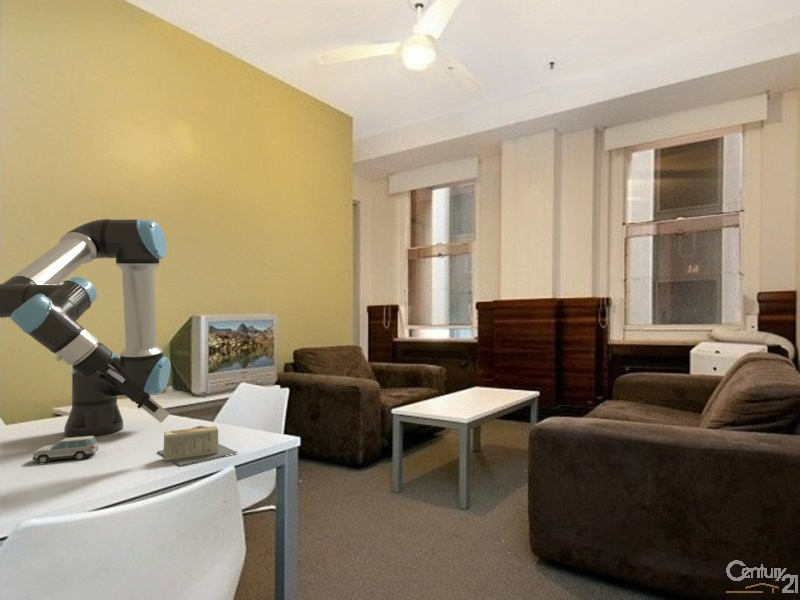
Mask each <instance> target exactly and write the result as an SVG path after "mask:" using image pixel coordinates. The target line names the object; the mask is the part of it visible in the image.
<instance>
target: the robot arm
mask: <svg viewBox="0 0 800 600" xmlns="http://www.w3.org/2000/svg"><path fill="white" fill-rule="evenodd" d="M166 255H167V241H166V238H165V234H164V231H163V229H162V227H161V225H159V224H158V223H157V222H156V221H154V220H151V219H150V220H149V219H110V218H109V219H107V218H106V219H105V218H104V219H96V220H93V221H92V220H91V221H89V222H86V223H83V224H81V225H79V226H76V227H75V228H73V229H72V230H71V229H70V231H68V232H66V233H65V234H64V235H62V236H61V237H60V239H59V243H58V244H56V245H55V246H54V247H52V248H51V249H49V250H48V251H46V252H45V253H44V254H42V255H40V256H39V257H38V258H37V259H35V260H34V261H32V262H31V263H30V264H28V265H27V266H25V267H24V268H23V269H21V270H20V271H19V272H17V273H15V274H14V275H13V276H11V277H10V278H8V279H7V280H6V281H4V282H3V283H0V319H4V318H10V320H11V321H12V322H13V323H14V324H16V326H18V328H20V329H21V330H22V331H23V333H25V334H27V335H29V337H32V338H33V339H34V340H35V341H36V342H38V343H40V345H42V346H43V347H44V348H46V349H47V350H48V351H50V352H51V353H53V354H54V355H55V356H56V357H55V360H56V361H58V362H60V361H61V360H62V361H63V362H64V363H65V364H67V365H70V366H71V365H72V366H71V367H72V373H71V410H70V412H69V414H68V417H67V420H66V423H65V425H64V429H63V431H64V432H63V435H64V436H65V437H68V438H74V437H85V436H94V437H95V436H103V435H107V434H111V433H115V432H118V431H121V430H122V429H124V419H123V417H122V414H121V411H120V408H119V406H118V397H126V398H128V399H129V400H131V402H132V403H134V404H136V405H137V406H136V407H137V408H138V409H143V410H144V411H146V412H147V414H149V416H151V417H153V418H155V420H157V421H158V422H159V423H161V424H162V423H163V422H164V421H165V420H166V418H168V416H170V414H171V413H170V412H168V411H167V410H166V409H165V408H164V407H162V406H161V405H160V404H159V403H157V402H156V401H155V400H154V399H153V398H152V397H151V396H152V395H154V396H155V395H159V394H162V392H164V391H165V389H166V387H167V385H168V383H169V379H170V374H171V367H172V365H171V360H170V358H169V357H166V356H164V351H163V349H162V348H160V347H159V346H158V335H157V333H158V332H157V311H156V310H157V308H156V285H155V284H156V282H155V281H156V279H155V270H156V268H158V266H160V260H161V259H163V258H165V257H166ZM95 259H115V264H116V266H117V267H118V268H120V269H121V272H122V274H121V275H122V277H121V278H122V293H123V295H122V297H123V318H124V341H125V348H124V350H122V351H121V353H120V354H119V356H120V357H119V356H118V353H113V351H112V350H110V348H108V347H107V346H106V345H105V344H103V343H102V342H99V339H98V338H97V337H96V336H94V334H92V333H91V332H89V331H88V330H87V328H85V327H83V326H82V325H81V324H79V323H78V320H79V318H80V317H81V316H83V315H84V313H86V311H87V310H89V309H90V308H91V306H92V304H93V303H94V302H95V300H96V298H97V296H98V295H97V293H98V292H97V289H96V287H95V286H94V284H93V283H92V282H91V281H89V280H88V279H86V278H83V277H81V276H79V277H78V276H74V277H70V278H68V277H69V276H70V275H71V274H72V273H74V271H76V270H77V269H78V268H79V267H80V266H82V265H83V264H84V265H86V264H89V263H91V262H93V261H94V260H95ZM66 278H68V279H66ZM65 279H66V280H65Z"/></svg>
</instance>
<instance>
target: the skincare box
mask: <svg viewBox="0 0 800 600" xmlns="http://www.w3.org/2000/svg"><path fill="white" fill-rule="evenodd" d="M193 428H194V429H192V428H187V429H175V430H168V431H166V430H165V431H163V450H164V457H163V459H164V461H170V460H173V459H181V458H188V457H195V456H202V455H210V454H217V453H218V444H219V429H218V426H217V425H216V426H214V425H213V426H205V427H203V428H195V427H193Z"/></svg>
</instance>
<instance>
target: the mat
mask: <svg viewBox="0 0 800 600" xmlns="http://www.w3.org/2000/svg"><path fill="white" fill-rule="evenodd" d="M157 453H158V455H160V456H161V457H163V458H164V449H162V450H157ZM235 453H239V452H238V451H235V450H233V449H232V448H229V447H227V446H225V445H222V444H220V443H218V453H217V454H210V455H202V456H195V457H188V458H181V459H173V460H169V461H170V462H172V463H173V464H175V465H176V466H178V467H180V468H182V467H184V466H185V467H186V466H190V465H194V463H195V464H199V463H203V462H202V461H204V462H207V460H208V461H212V460H211V459H213V460H216V459H215V458H217V459H219V458H218V457H222V458H224V457H223V456H226V455H230V454H235ZM235 455H236V454H235ZM226 457H227V456H226ZM198 462H199V463H198ZM189 464H190V465H189Z"/></svg>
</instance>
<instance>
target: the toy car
mask: <svg viewBox="0 0 800 600" xmlns="http://www.w3.org/2000/svg"><path fill="white" fill-rule="evenodd" d="M99 448H100V447H99V444H98V440H97V439H96V437H95V436H85V437H65V438H64V439H61V440H59V441H58V442H57V443H55V444H50V445H44V446H41V447H40V448H38V449H36V450H35V451H34V452H33V455H32V460H33V461H35V462H36V461H37V462H38V464H40V463H44V464H47V463H48V462H49V461H54V460H64V459H73V458H74V459H75V460H76V461H81V460H84V459H85V458H86V457H89V456H91V455H94V454H95V453H96V452H97V451H98V450H99Z"/></svg>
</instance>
